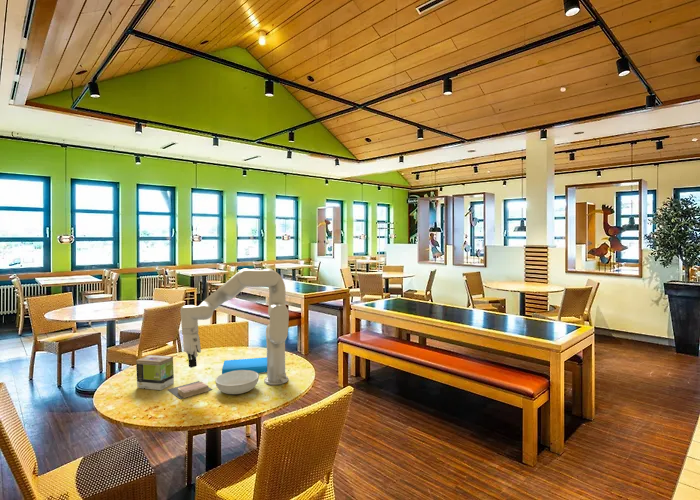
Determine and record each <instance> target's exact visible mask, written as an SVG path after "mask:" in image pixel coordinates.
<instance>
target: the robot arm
mask: <svg viewBox="0 0 700 500" xmlns="http://www.w3.org/2000/svg"><path fill="white" fill-rule="evenodd" d="M247 287H248V288H268V291H269V292H268V293H269V294H268V307H267V308H268V309H267V314H268V316H269V323H268V324H267V326H266V328H265V339H266V341H265V342H266V357H267V372H266V375H267V377H265V378H264V381H263V382H264V383H265V384H266V385H269V386H270V385H271V386H278V385H284V384H285V383H287V382H288V381H289V376H287V373H286V340H287V337H288V333H289V323H290V322H289V319H290V317H289V316H290V313H289V309H288V307H287V306H286V284H285V282H284V280H283V277H282V276H281V274H280V273H278V272H277V271H276V270H275V269H272V268H269V267H268V268H264V269H260V270H259V269H250V268H247V267H246V268H242V269H240V270H238V272H236V273H235V274H234V275H233V276H231V277H230V278H229V279H228V280H227V281H225V282H224V283H223V284H222V285H221V286H220V287H218V288H217V289H216V290H215V291H213V292H212V293H211V294H210V295H208V296H207V297H206V298H205V299H204V300H203V301H202V302H200V304H199V305H197V306H196V305H194V304H188V305H183V306H181V307H180V309H179V310H180V320H181V321H180V322H181V334H182V340H183V342H182V343H183V345H182V346H183V351H184V352H185V353H186V354H187V359H188V368H190V369H191V368H195V367H197V366H198V365H197V358H198V357H199V356H198V355H199V353H201V352H202V349H201V348H202V347H201V340H200V335H199V321H201V320H202V321H204V320H209V319H211V318H212V317H213V315H214V311H216V309H217V308H219V307H220V306H222V305H223V304H224V303H226V302H227V301H231V300H233V299H234V298H235V297H236V296H237V295H239V294H240V293H241V292H242V291H243V290H244V289H246V288H247Z"/></svg>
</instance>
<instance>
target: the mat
mask: <svg viewBox="0 0 700 500" xmlns="http://www.w3.org/2000/svg"><path fill="white" fill-rule="evenodd" d="M198 382H200V381H199V380H197V381H194V382H190V383H186V384H183V385H180V386H177V387H172V388H169V389H167V391H168V392H169V393H171V394H172V395H174V396H175V397H176V398H177V399H179V400H183V399H185V398H184V397H182V396H181V395H180V394H178V388H180V387H184V386H187V385H191V384H195V383H198ZM208 389H209V391H206V392H211V391H212V390H213V388H211V387H209V386H208ZM206 392H203V394H204V393H206ZM199 394H201V393H199ZM199 394H196V395H199ZM196 395H195V396H196ZM189 397H191V396H189ZM189 397H188V398H189Z"/></svg>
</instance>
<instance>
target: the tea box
mask: <svg viewBox="0 0 700 500" xmlns="http://www.w3.org/2000/svg"><path fill="white" fill-rule="evenodd" d="M135 361H136V362H135V365H136V366H135V368H136V369H135V370H136V386H137V387H139V388H138V389H144V388H145V390H154V391H155V390H156V391H163V390H165V389H166V388H168V387H170V386H171V385H174V383H175V381H174V380H175V378H174V377H175V375H174V356H169V355H157V354H156V355H155V354H149V355H145V356H144V357H141V358H138V359H136V360H135ZM137 387H136V388H137Z"/></svg>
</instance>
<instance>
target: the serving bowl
mask: <svg viewBox="0 0 700 500" xmlns="http://www.w3.org/2000/svg"><path fill="white" fill-rule="evenodd" d="M259 374H260V373H256V372H254V371H250V370H237V371H231V372H227V373H224V374H222V373H221V374H220V375H218V376H217V377H216V378H215V381H214V382H215V385H216V387H217V389H218V391H220V392H221V393H222V394H227V395H240V394H244V393H247V392H249V391H251V390H253V389H254V388H255V387H256V386H257V384H258V382H259Z"/></svg>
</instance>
